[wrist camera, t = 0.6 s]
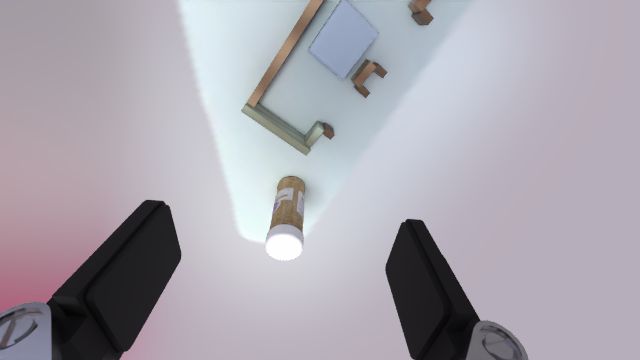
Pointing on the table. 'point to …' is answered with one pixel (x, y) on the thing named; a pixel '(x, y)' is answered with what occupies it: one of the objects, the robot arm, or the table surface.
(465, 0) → the table surface
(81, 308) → the robot arm
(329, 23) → the block
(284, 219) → the sprinkles bottle
